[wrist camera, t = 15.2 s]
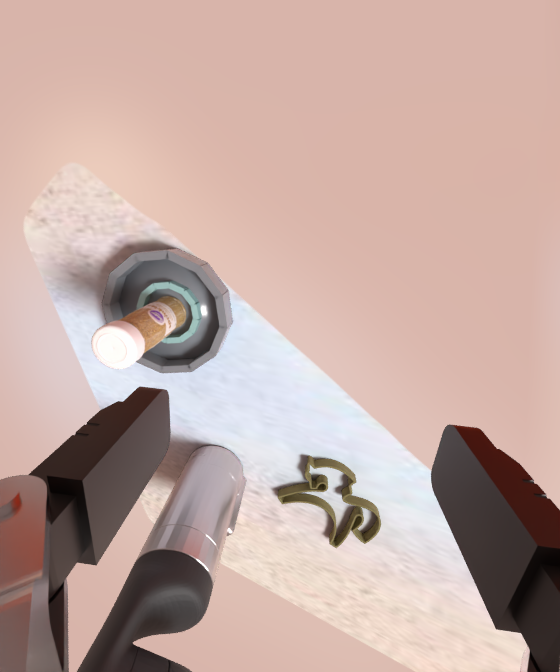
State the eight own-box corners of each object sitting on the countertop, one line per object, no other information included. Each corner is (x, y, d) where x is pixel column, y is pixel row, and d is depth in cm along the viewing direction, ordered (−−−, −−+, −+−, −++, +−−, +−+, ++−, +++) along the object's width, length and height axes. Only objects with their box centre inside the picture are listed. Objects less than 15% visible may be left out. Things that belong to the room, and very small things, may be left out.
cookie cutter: (269, 482, 53) (267, 491, 51) (323, 442, 49) (324, 451, 48) (341, 545, 56) (342, 556, 54) (397, 512, 53) (400, 523, 51)
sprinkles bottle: (192, 306, 43) (142, 342, 30) (178, 333, 44) (125, 379, 31) (162, 288, 42) (98, 317, 30) (149, 316, 44) (82, 355, 31)
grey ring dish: (254, 325, 44) (250, 332, 41) (169, 382, 48) (160, 392, 45) (178, 223, 40) (168, 223, 37) (93, 294, 44) (78, 299, 41)
